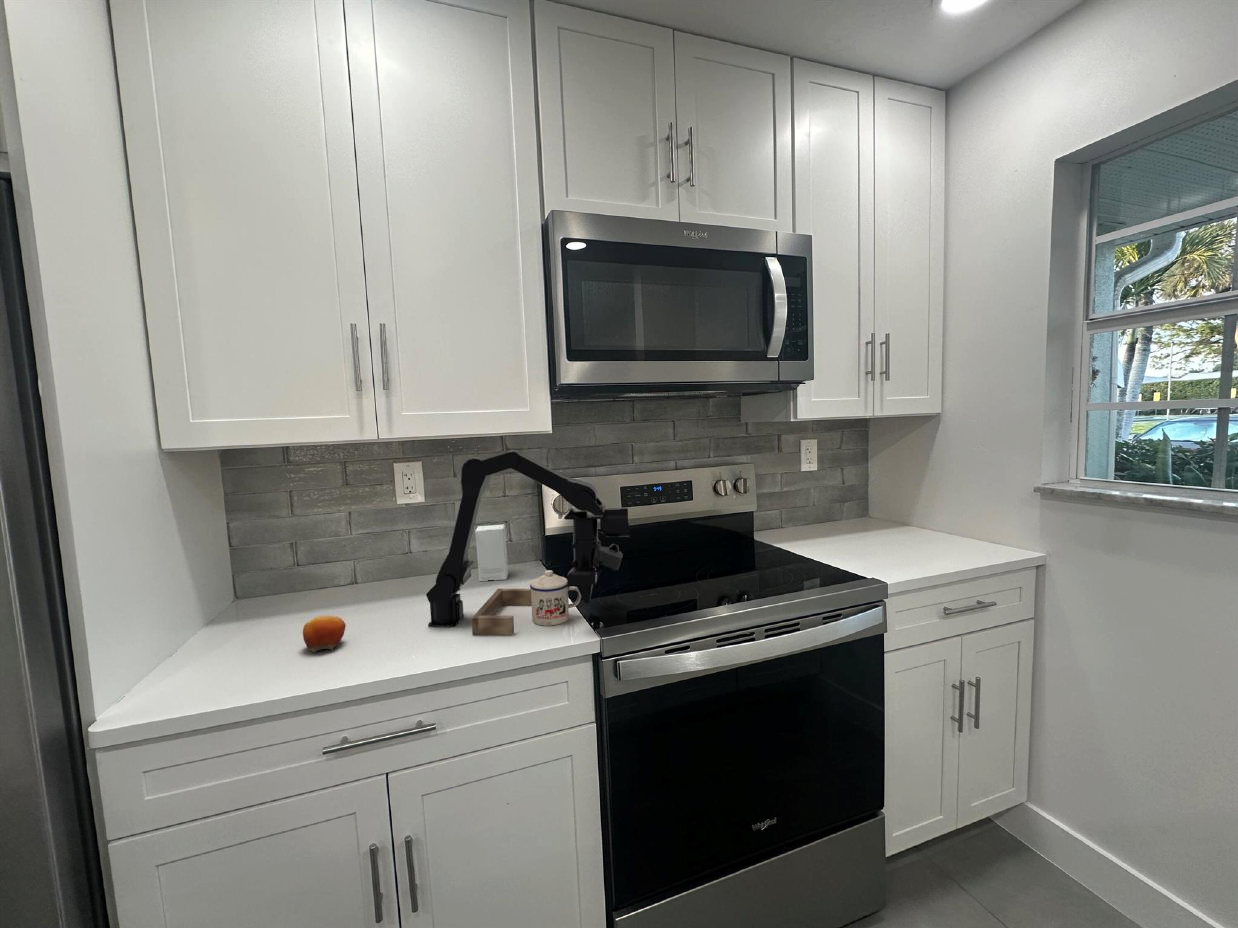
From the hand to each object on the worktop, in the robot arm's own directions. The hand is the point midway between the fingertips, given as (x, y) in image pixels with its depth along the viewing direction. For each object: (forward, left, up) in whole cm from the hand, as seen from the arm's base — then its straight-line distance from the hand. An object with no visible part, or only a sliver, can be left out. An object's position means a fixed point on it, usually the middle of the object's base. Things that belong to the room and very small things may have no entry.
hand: (587, 602), depth 128 cm
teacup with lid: (-7, 0, -4) cm, 8 cm away
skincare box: (-32, +32, -4) cm, 46 cm away
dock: (-20, 0, -4) cm, 20 cm away
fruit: (-54, -16, -4) cm, 57 cm away
